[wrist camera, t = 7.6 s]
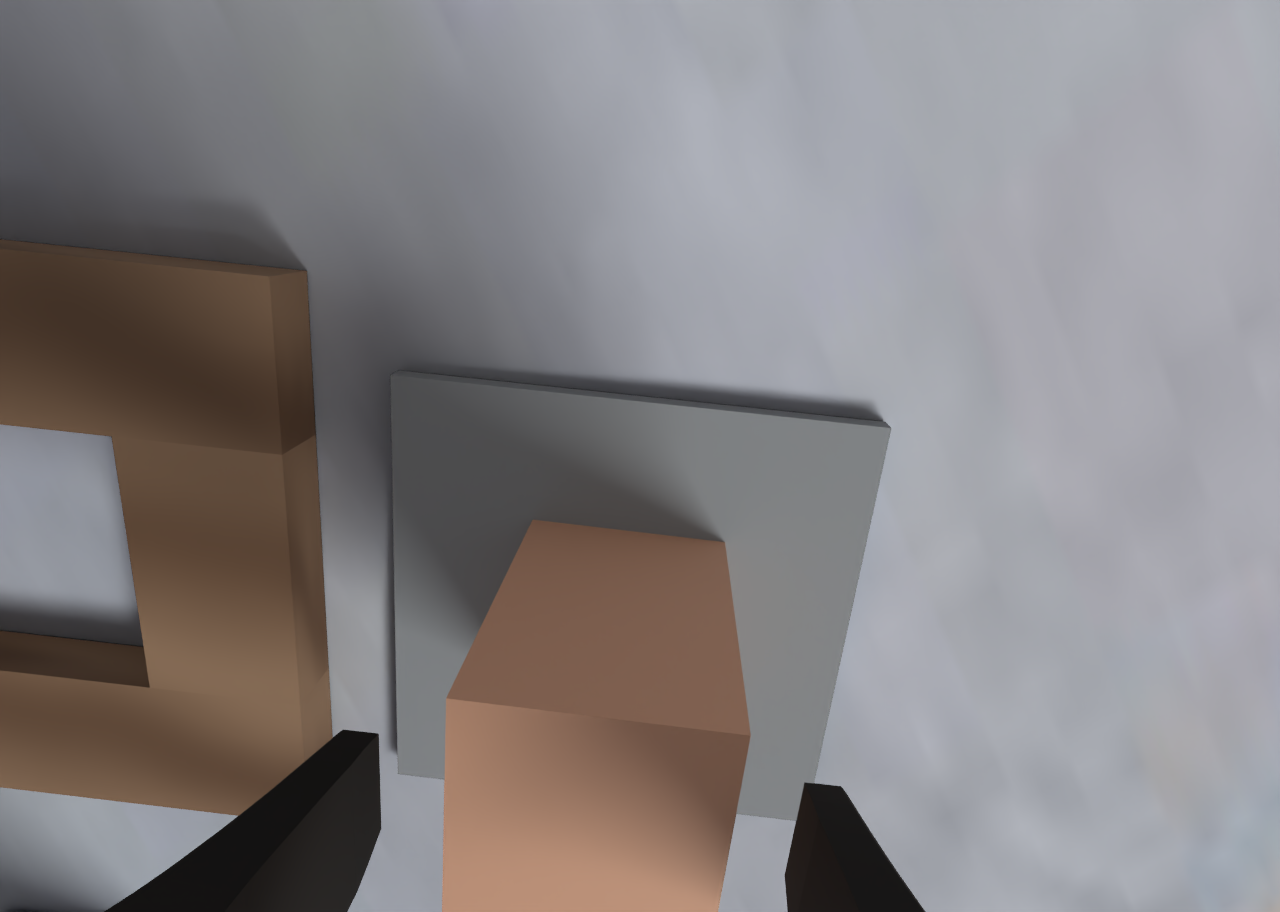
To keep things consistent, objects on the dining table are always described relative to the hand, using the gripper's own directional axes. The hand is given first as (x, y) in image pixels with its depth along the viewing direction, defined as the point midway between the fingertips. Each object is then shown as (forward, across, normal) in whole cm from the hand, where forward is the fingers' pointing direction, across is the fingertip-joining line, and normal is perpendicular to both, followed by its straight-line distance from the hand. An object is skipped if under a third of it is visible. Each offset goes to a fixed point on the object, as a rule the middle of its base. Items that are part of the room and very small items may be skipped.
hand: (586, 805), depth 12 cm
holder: (+6, +14, -1) cm, 16 cm away
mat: (+6, 0, 0) cm, 6 cm away
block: (+6, 0, 0) cm, 6 cm away
